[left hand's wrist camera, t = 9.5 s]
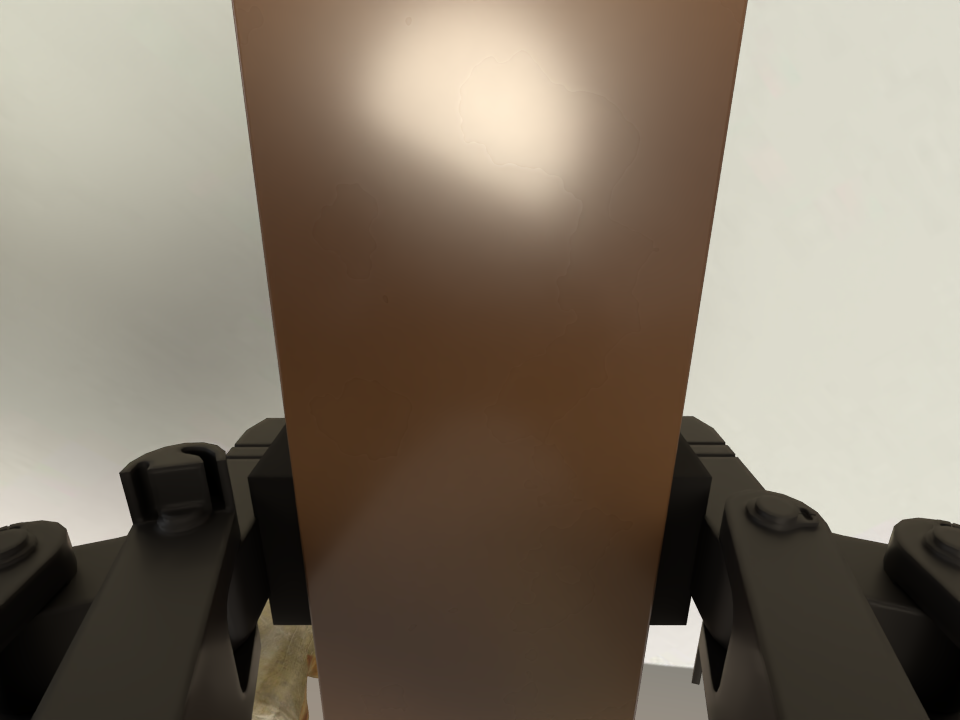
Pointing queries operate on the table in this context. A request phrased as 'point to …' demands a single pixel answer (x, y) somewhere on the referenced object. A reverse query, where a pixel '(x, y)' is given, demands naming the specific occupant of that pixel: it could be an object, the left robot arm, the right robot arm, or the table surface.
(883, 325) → the table surface
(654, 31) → the bar
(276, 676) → the sculpture
